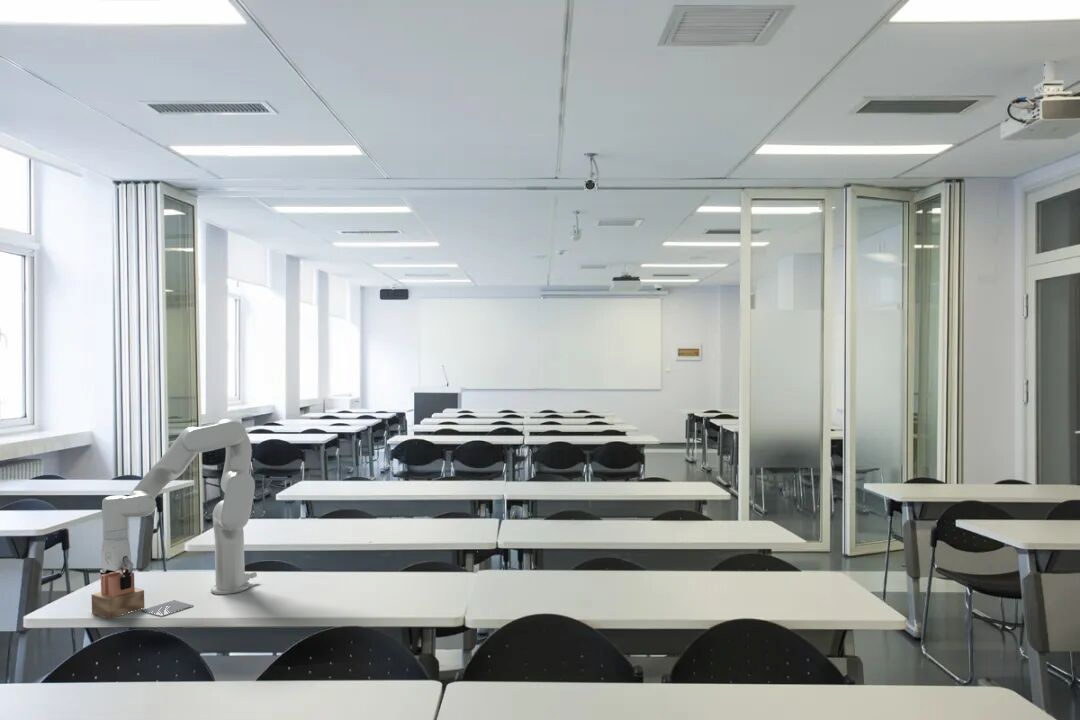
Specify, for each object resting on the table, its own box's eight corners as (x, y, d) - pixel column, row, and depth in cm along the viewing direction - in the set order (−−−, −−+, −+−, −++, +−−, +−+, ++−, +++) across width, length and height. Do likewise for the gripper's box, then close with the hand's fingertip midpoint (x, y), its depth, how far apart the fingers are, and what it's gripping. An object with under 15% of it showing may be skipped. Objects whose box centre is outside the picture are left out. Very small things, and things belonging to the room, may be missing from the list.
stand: (126, 603, 247) (125, 573, 247) (144, 608, 241) (143, 577, 241) (91, 613, 238) (91, 582, 238) (109, 618, 232) (109, 587, 232)
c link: (123, 587, 245) (122, 569, 244) (134, 590, 241) (134, 572, 241) (101, 593, 239) (100, 575, 239) (112, 597, 235) (112, 578, 235)
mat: (174, 601, 248) (174, 600, 248) (193, 606, 242) (193, 605, 242) (141, 611, 239) (141, 609, 239) (160, 616, 233) (160, 615, 233)
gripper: (90, 533, 241) (92, 585, 241) (118, 539, 232) (120, 593, 232) (114, 528, 247) (115, 579, 247) (142, 534, 238) (143, 587, 238)
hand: (117, 586), depth 240 cm, fingers open, 9 cm apart
